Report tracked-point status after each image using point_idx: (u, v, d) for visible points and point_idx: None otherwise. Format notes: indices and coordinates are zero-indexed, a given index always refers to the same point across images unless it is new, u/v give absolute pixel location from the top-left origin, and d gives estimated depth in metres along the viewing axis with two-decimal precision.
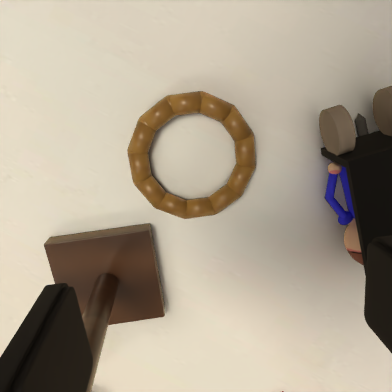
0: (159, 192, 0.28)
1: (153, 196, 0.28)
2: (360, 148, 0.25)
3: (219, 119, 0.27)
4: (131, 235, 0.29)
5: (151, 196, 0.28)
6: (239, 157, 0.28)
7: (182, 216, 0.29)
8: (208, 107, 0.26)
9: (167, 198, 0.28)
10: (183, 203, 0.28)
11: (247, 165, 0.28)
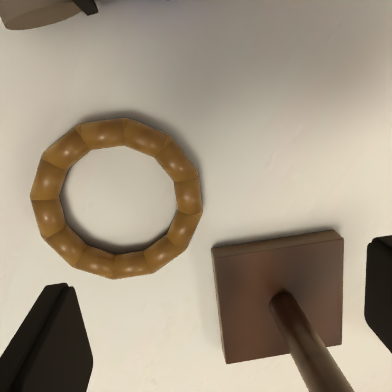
0: (163, 246, 0.22)
1: (167, 254, 0.22)
2: None
3: (61, 173, 0.20)
4: (220, 278, 0.23)
5: (168, 256, 0.22)
6: (112, 144, 0.20)
7: (197, 218, 0.21)
8: (45, 190, 0.20)
9: (172, 236, 0.22)
10: (179, 216, 0.21)
11: (121, 133, 0.19)
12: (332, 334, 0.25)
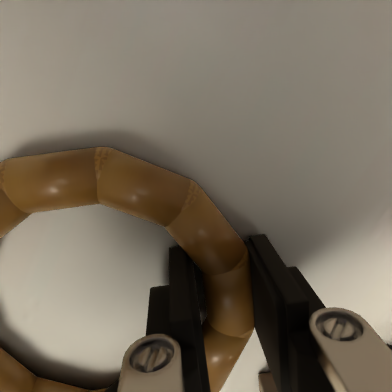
0: None
1: None
2: None
3: None
4: None
5: None
6: (73, 204, 0.09)
7: (246, 339, 0.11)
8: None
9: None
10: (211, 336, 0.11)
11: (92, 183, 0.09)
12: None
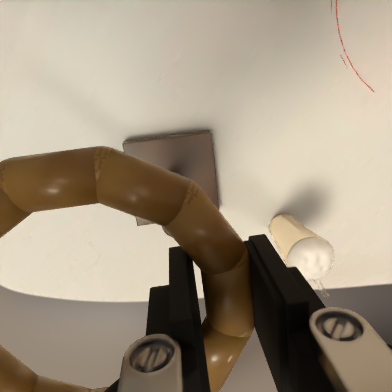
0: None
1: None
2: None
3: None
4: None
5: None
6: (73, 203, 0.09)
7: (246, 338, 0.11)
8: None
9: None
10: (211, 335, 0.11)
11: (92, 183, 0.09)
12: None
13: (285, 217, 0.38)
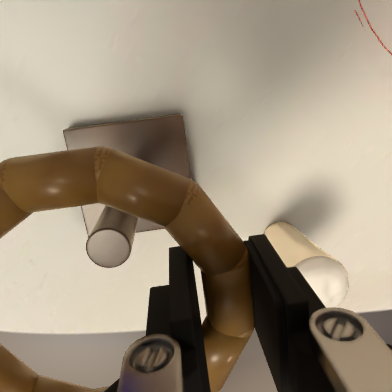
0: None
1: None
2: None
3: None
4: None
5: None
6: (73, 203, 0.09)
7: (246, 339, 0.11)
8: None
9: None
10: (211, 335, 0.11)
11: (92, 183, 0.09)
12: None
13: (282, 227, 0.29)
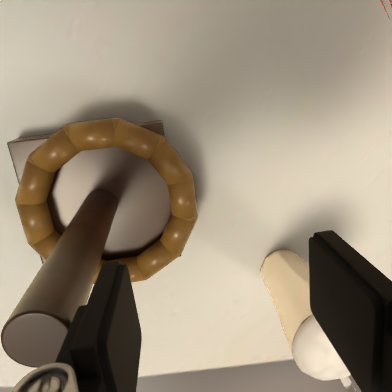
0: (157, 251, 0.21)
1: (161, 260, 0.21)
2: None
3: (49, 177, 0.19)
4: (19, 168, 0.20)
5: (162, 262, 0.21)
6: (102, 145, 0.19)
7: (192, 222, 0.21)
8: (32, 194, 0.19)
9: (165, 241, 0.21)
10: (173, 220, 0.20)
11: (112, 134, 0.18)
12: None
13: (286, 257, 0.24)
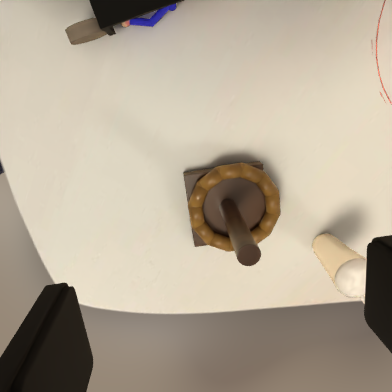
0: (258, 232, 0.39)
1: (260, 237, 0.39)
2: None
3: (207, 193, 0.37)
4: (188, 188, 0.38)
5: (261, 238, 0.39)
6: (234, 177, 0.37)
7: (278, 216, 0.38)
8: (198, 202, 0.37)
9: (263, 226, 0.39)
10: (268, 215, 0.38)
11: (241, 171, 0.36)
12: None
13: (328, 237, 0.41)
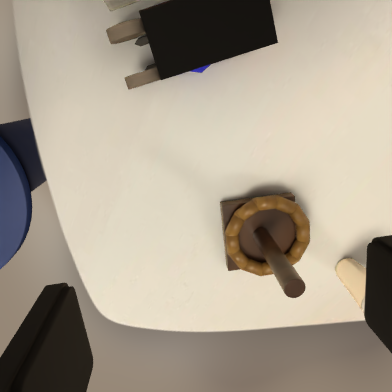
0: (289, 258, 0.42)
1: (291, 263, 0.42)
2: None
3: (243, 222, 0.40)
4: (225, 217, 0.41)
5: None
6: (270, 208, 0.40)
7: (307, 244, 0.41)
8: (236, 231, 0.40)
9: (293, 253, 0.42)
10: (298, 243, 0.41)
11: (276, 204, 0.39)
12: None
13: (351, 262, 0.44)
